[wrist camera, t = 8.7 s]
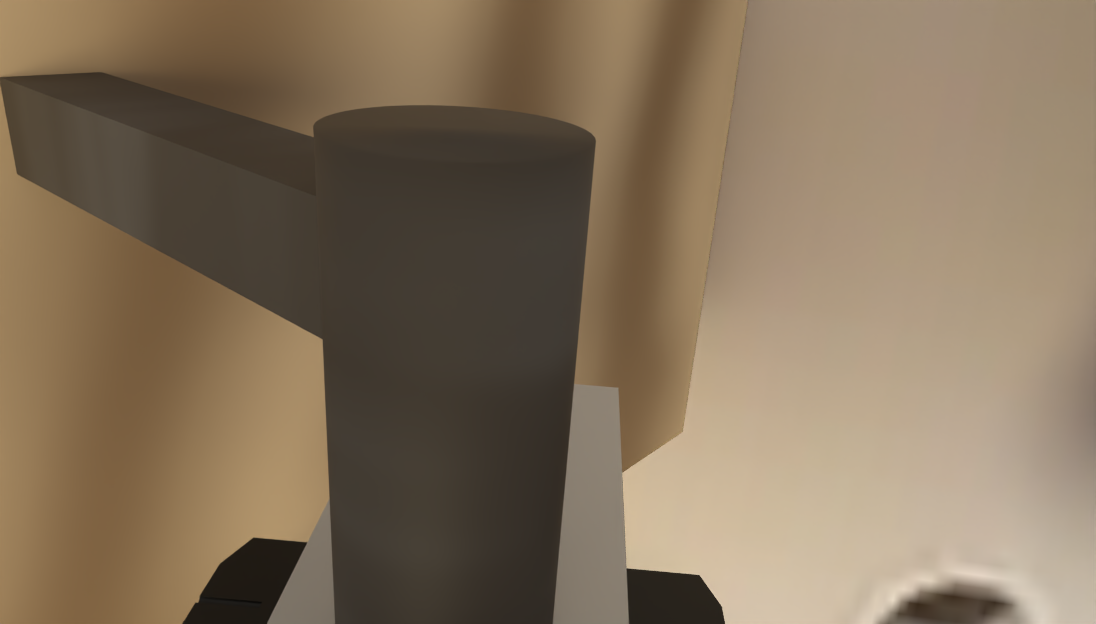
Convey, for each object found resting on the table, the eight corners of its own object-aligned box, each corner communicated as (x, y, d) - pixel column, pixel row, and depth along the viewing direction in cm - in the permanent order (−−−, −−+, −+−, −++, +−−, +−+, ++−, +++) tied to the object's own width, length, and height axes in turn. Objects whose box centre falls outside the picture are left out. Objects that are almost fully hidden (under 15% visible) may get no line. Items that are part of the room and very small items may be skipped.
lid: (731, -23, 23) (1101, 6, 18) (667, 424, 29) (934, 547, 23) (-277, -84, 8) (146, -21, 3) (-1, 857, 14) (313, 1439, 9)
